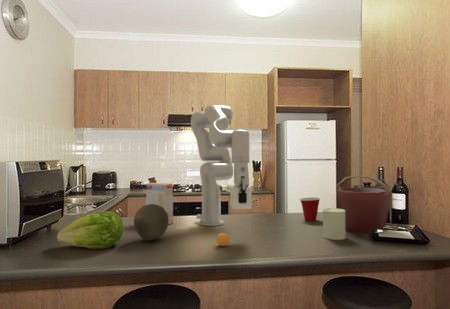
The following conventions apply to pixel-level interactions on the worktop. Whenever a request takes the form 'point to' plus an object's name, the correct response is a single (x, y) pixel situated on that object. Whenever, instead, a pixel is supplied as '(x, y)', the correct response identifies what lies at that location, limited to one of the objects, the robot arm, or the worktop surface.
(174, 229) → the worktop surface
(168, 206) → the cracker box
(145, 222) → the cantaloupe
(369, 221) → the bucket
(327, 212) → the can
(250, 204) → the white sugar cube
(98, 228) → the lettuce
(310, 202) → the plastic cup
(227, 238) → the ball
